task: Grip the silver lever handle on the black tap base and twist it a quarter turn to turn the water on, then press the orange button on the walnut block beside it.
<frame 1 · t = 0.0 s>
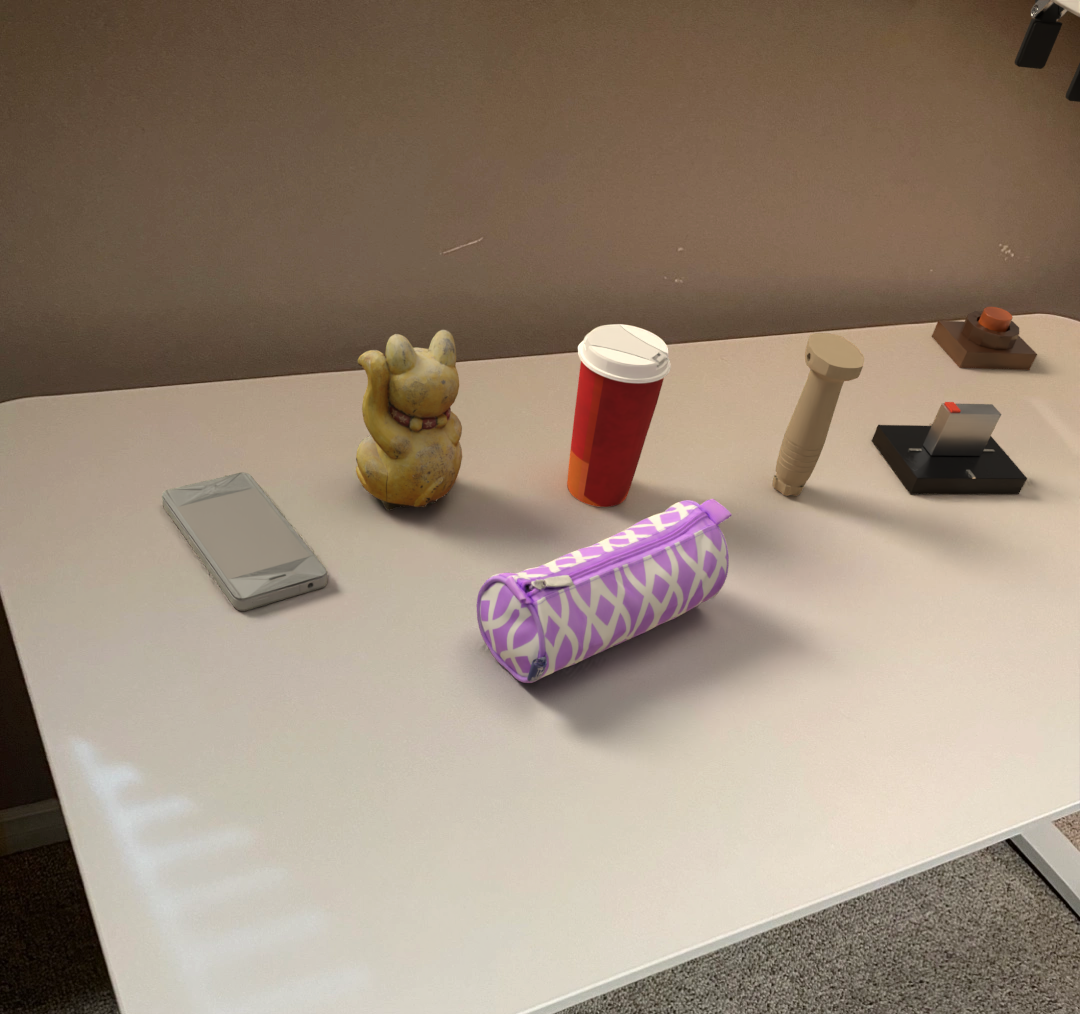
hand: (1053, 83, 105), 33 cm above the table, tool pointing down, fingers open, 9 cm apart
pencil case: (594, 630, 90), on the table
button: (995, 319, 134), point 4 cm above the table, slide at 0.1 cm
decorative figurine: (411, 496, 100), on the table
button block: (979, 353, 137), on the table
phone: (244, 545, 91), on the table
tap base: (944, 467, 116), on the table
tap handle: (962, 429, 113), point 5 cm above the table, hinge at 0.0°
handle: (786, 490, 109), on the table
coffee cup: (596, 490, 104), on the table
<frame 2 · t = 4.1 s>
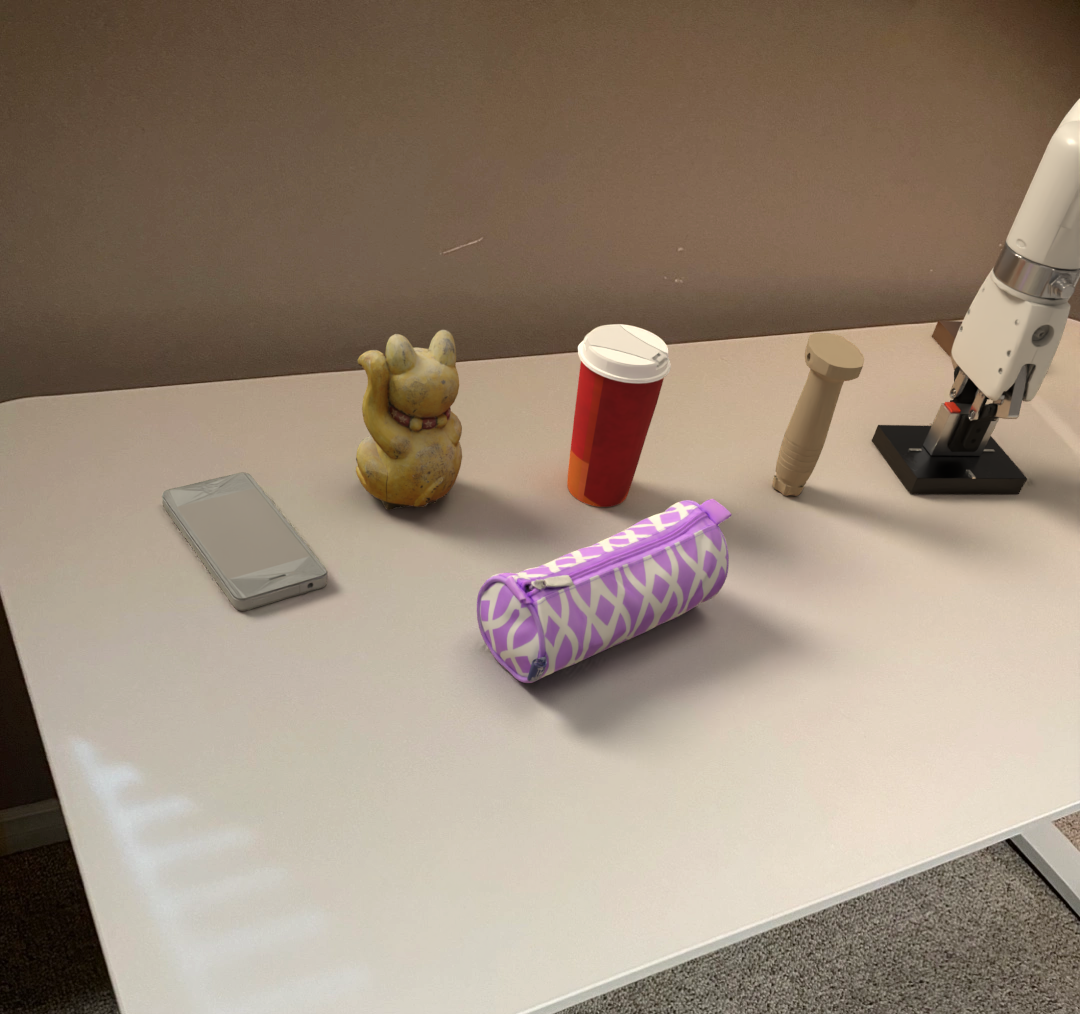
hand: (956, 441, 114), 3 cm above the table, tool pointing down, fingers closed on tap handle, 2 cm apart
tap handle: (962, 429, 113), point 5 cm above the table, hinge at 0.0°, touching gripper
everything else where it was.
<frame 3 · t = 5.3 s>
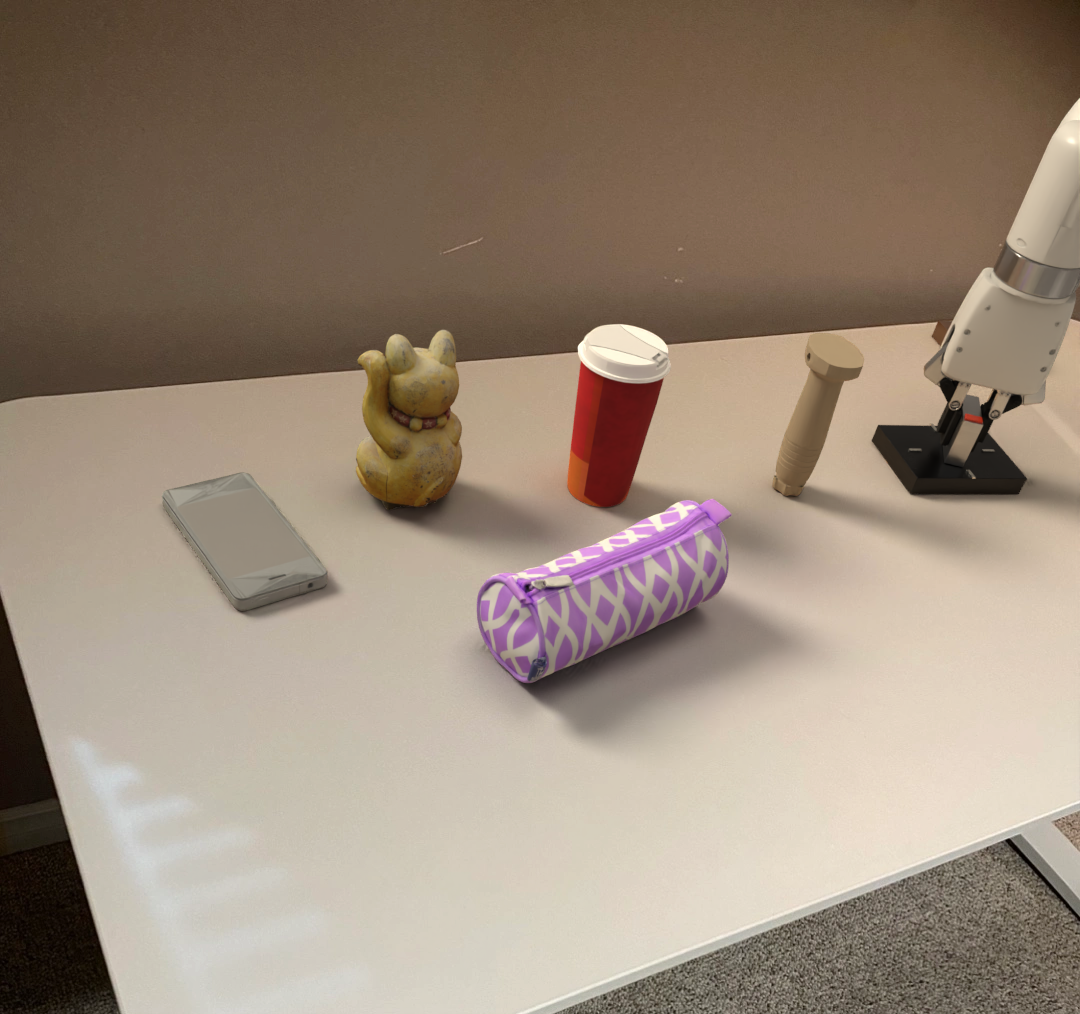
hand: (956, 441, 114), 3 cm above the table, tool pointing down, fingers closed on tap handle, 2 cm apart
tap handle: (962, 429, 113), point 5 cm above the table, hinge at 66.2°, touching gripper
everything else where it was.
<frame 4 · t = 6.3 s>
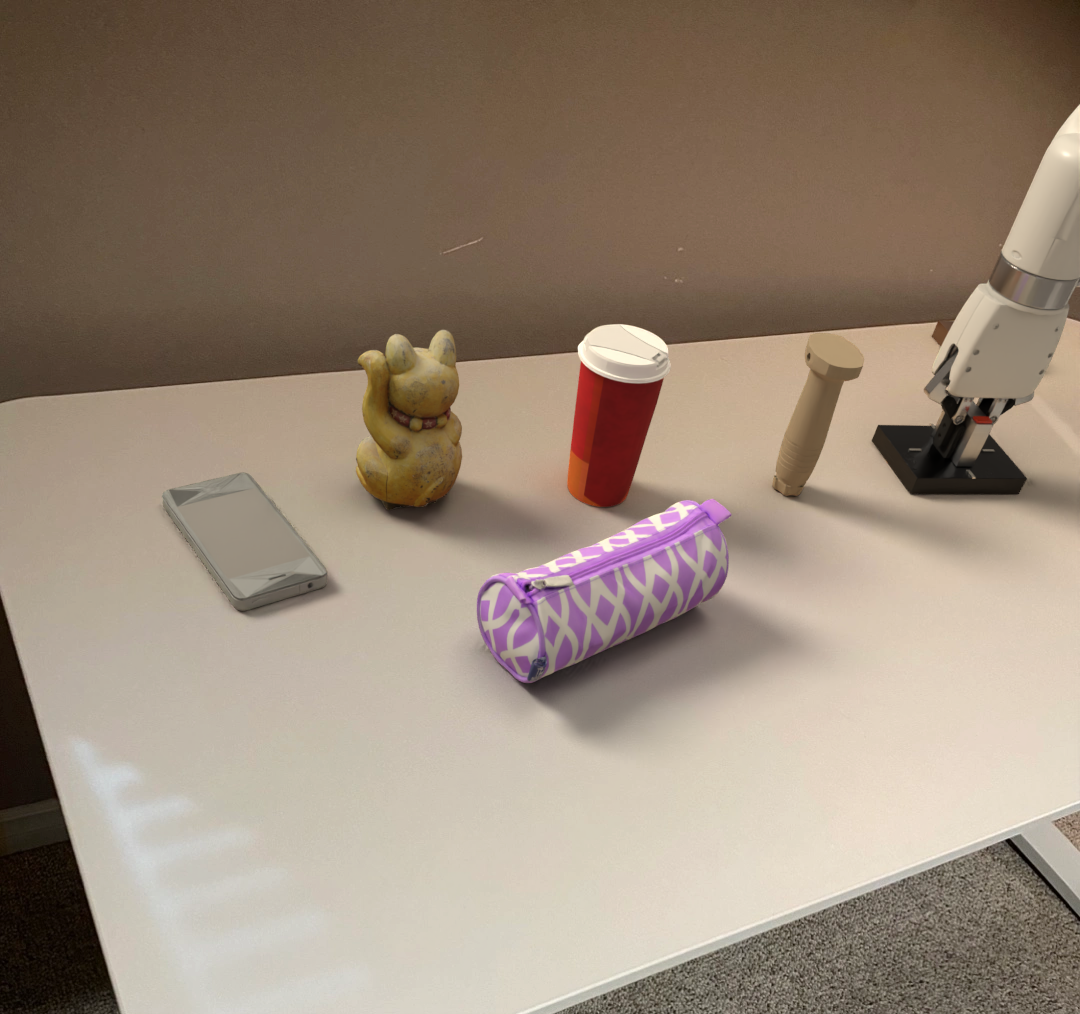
hand: (952, 450, 115), 2 cm above the table, tool pointing down, fingers closed, pressing on tap base, tap handle
tap handle: (962, 429, 113), point 5 cm above the table, hinge at 89.7°, touching gripper
everything else where it was.
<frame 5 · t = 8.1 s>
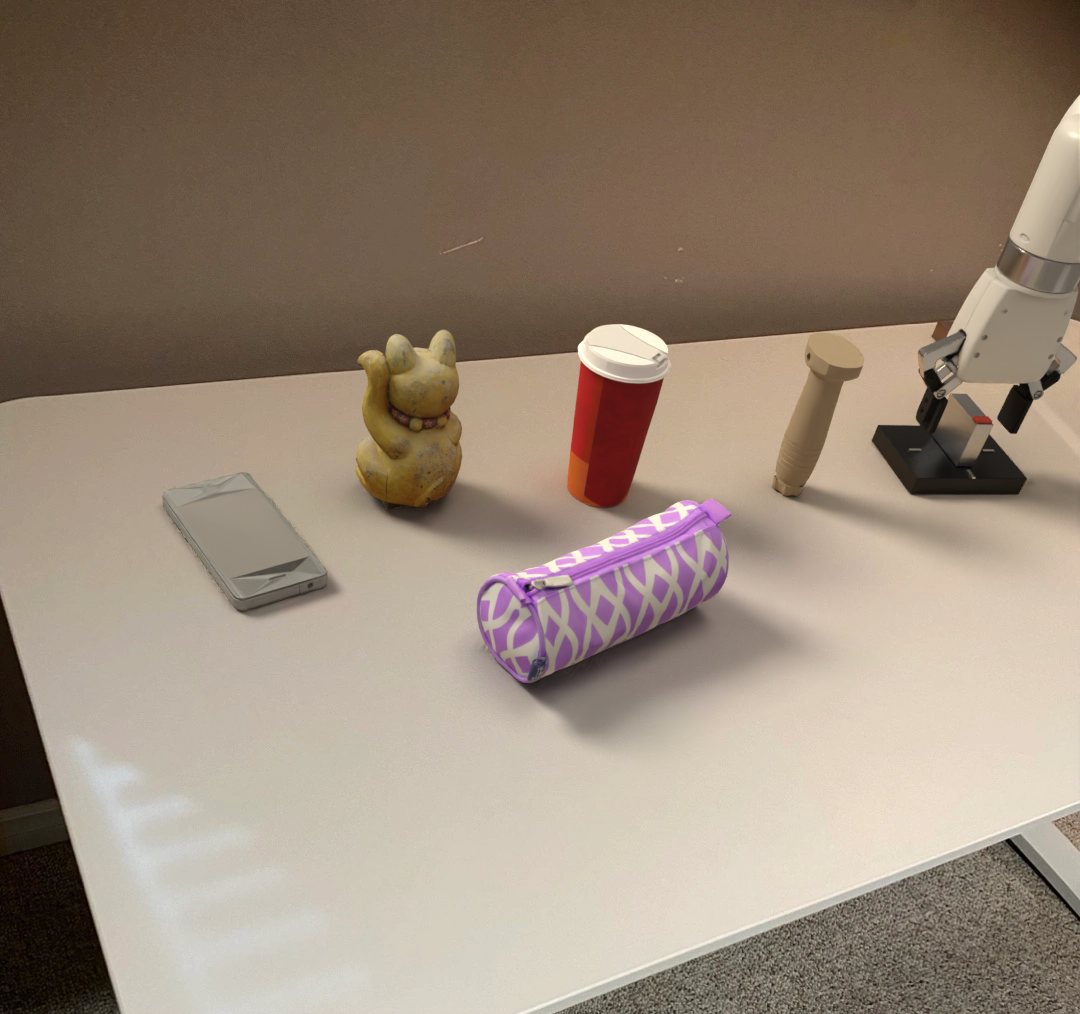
hand: (965, 426, 113), 5 cm above the table, tool pointing down, fingers open, 9 cm apart
tap handle: (962, 429, 113), point 5 cm above the table, hinge at 89.8°
everything else where it was.
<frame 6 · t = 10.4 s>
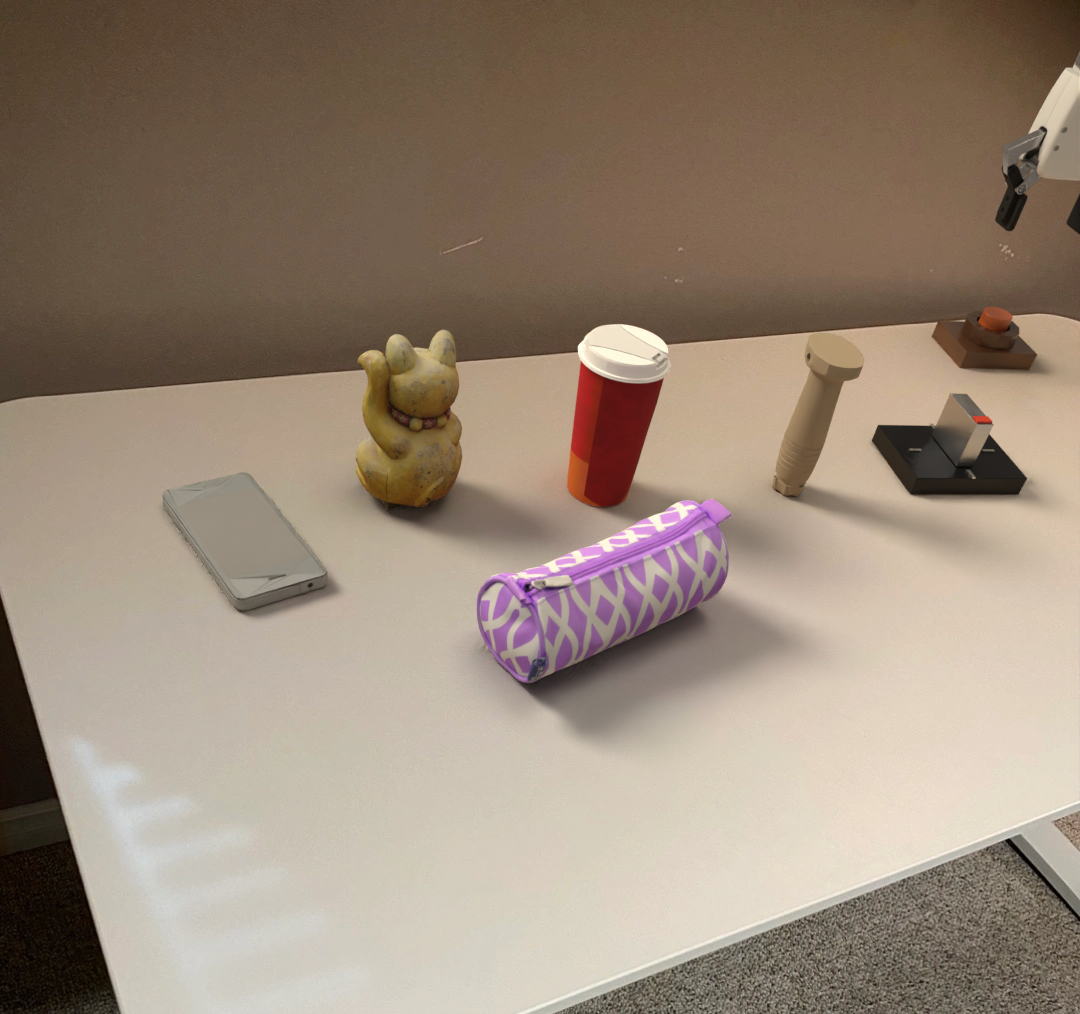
hand: (1039, 228, 125), 16 cm above the table, tool pointing down, fingers open, 9 cm apart
nothing on the table moved.
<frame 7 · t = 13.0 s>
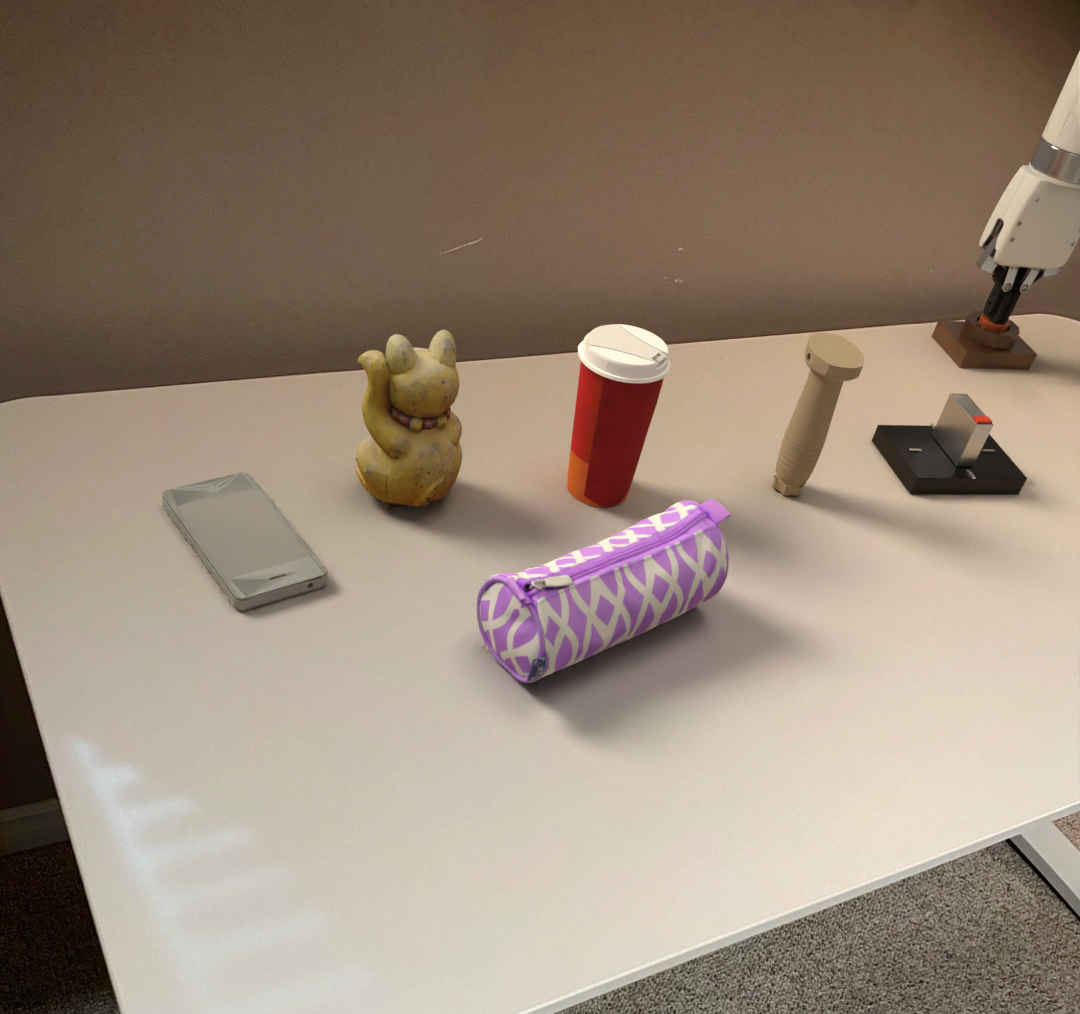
hand: (994, 318, 134), 5 cm above the table, tool pointing down, fingers closed
button: (992, 325, 135), point 4 cm above the table, slide at -0.6 cm, touching gripper
everything else where it was.
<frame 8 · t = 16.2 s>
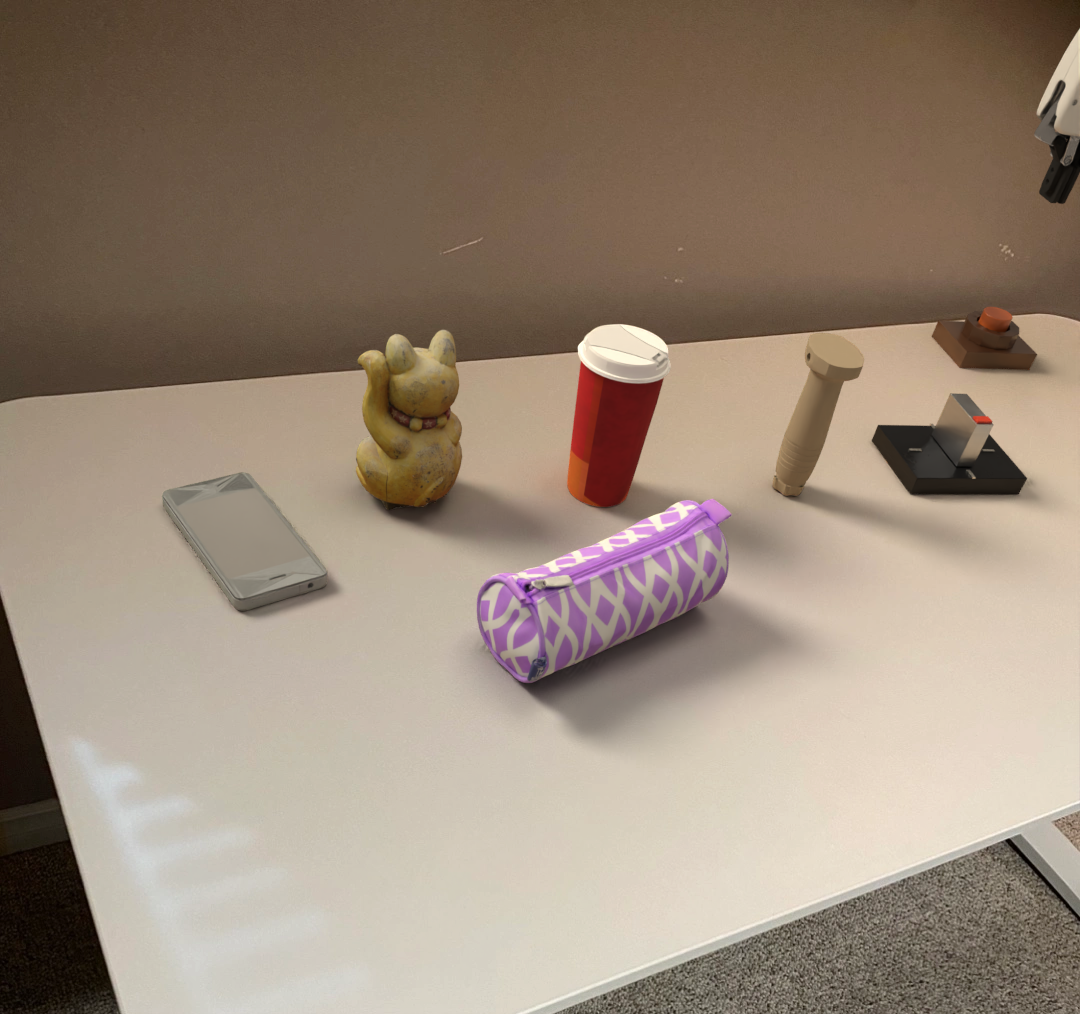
hand: (1051, 198, 124), 19 cm above the table, tool pointing down, fingers closed
button: (995, 319, 134), point 4 cm above the table, slide at 0.1 cm
everything else where it was.
at the end: tap handle at +90° (first picture: +0°); button pushed in 1.1 cm at the most during the clip, back to where it started at the end; button slide at 0.1 cm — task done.
